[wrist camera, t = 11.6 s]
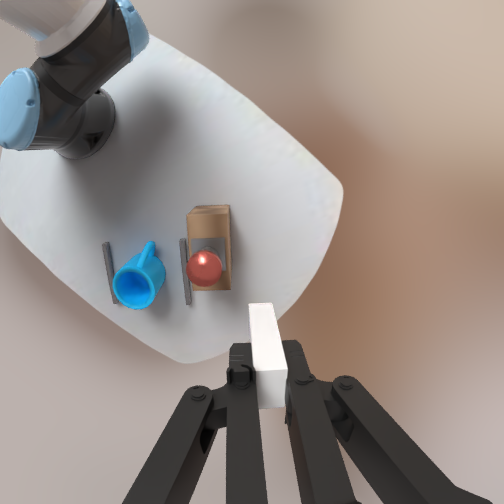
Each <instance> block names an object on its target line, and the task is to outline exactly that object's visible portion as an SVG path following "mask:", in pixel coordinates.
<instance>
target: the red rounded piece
mask: <svg viewBox="0 0 504 504" xmlns="http://www.w3.org/2000/svg"><path fill="white" fill-rule="evenodd" d="M186 273H187V276H188V278H189V279H190V281H191V282H192V283H194V284H195V285H197V286H201V287H209V286H212V285H214V284H215V283H216V282H217V281H218V280H219V279H220V277H221V273H222V263H221V260H220V258H219V257H218V253H217V251H216V250H215V249H214V248H212V247H203V248H202V249H201V250H200V251H197V252H195V253H194V254H193V255H192V256H191V257H190V259H189V261H188V263H187V266H186Z"/></svg>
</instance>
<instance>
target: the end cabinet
mask: <svg viewBox="0 0 504 504" xmlns="http://www.w3.org/2000/svg"><path fill="white" fill-rule="evenodd" d="M186 217H187V231H188V244H189V256H190V257H191V256H192V255H193V254H194V253H195V252H197V251H200V250H201V249H202V248H203V247H212V248H214V249H215V250H216V251H217V253H218V257H219V258H220V260H221V263H222V273H221V277H220V279H219V280H218V281H217V282H216V283H215V284H214V285H212V286H209V287H201V286H197V285H195V284H194V283H192V287H193V291H204V290H231V272H232V263H231V239H230V211H229V205H210V206H196V207H195V208H194V209H193V210H192V211H191V212H190V213H189V214H188V215H187V216H186Z"/></svg>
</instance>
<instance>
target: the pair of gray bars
mask: <svg viewBox="0 0 504 504" xmlns="http://www.w3.org/2000/svg"><path fill="white" fill-rule="evenodd" d="M179 242H180V253H181V263H182V273H183V282H184V290H185V298H186V305H190V304H191V294H190V285H189V278H188V276H187V273H186V266H187V255H186V244H185V239H180V241H179ZM102 247H103V253H104V259H105V265H106V270H107V275H108V280H109V285H110V290H111V295H112V299H113V303H114V304H117V303H118V302H119V300H118V299H117V297H116V295H115V293H114V290H113V279H114V272H113V267H112V261H111V255H110V248H109V242H105V243H103V244H102Z"/></svg>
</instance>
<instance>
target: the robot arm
mask: <svg viewBox="0 0 504 504" xmlns="http://www.w3.org/2000/svg"><path fill="white" fill-rule="evenodd" d="M0 19H2V20H4V21H5V22H7V23H9V24H10V25H12V26H14V27H15V28H17V29H19V30H20V31H22V32H24V33H25V34H27V35H28V36H30V37H32V38H33V39H35V40H36V42H35V53H36V55H37V56H38V57H39V58H38V59H37V60H36V61H35V62H34V64H33V65H32V66H31V67H30V68H20V69H17V70H16V71H13V72H12V73H10V74H9V75H8V76H7V78H6V79H5V80H4V81H3V83H2V84H1V86H0V146H2V147H3V148H6V149H15V150H17V151H22V150H43V149H53V150H54V151H56V152H57V153H59V154H60V155H62V156H64V157H66V158H71V159H81V158H85V157H88V156H90V155H92V154H94V153H95V152H97V151H98V150H99V149H100V148H101V147H102V146H103V145H104V143H105V142H106V141H107V139H108V137H109V135H110V133H111V131H112V128H113V125H114V120H115V108H114V103H113V101H112V99H111V97H110V95H109V94H108V93H107V92H106V91H105V90H103V89H101V88H100V87H101V86H102V85H103V84H105V83H106V82H107V81H108V80H109V79H110V78H111V77H112V76H114V75H115V74H116V73H117V72H118V71H119V70H121V69H122V68H123V67H124V66H125V65H127V64H128V63H130V62H131V61H132V60H133V58H134V57H135V56H137V55H138V54H139V53H140V52H141V51H142V50H144V49H145V48H146V46H147V44H148V43H149V33H148V30H147V28H146V26H145V24H144V22H143V20H142V18H141V16H140V15H139V13H138V12H137V10H135V9H134V7H133V5H132V3H131V2H130V0H0ZM249 337H250V343H233V345H232V346H231V348H230V354H229V355H230V356H229V368H228V369H227V383H226V384H225V385H224V386H223V387H221V388H218V389H215V390H210V389H209V388H208V387H205V386H193V387H190V388H189V389H187V390H186V391H185V393H184V395H183V396H182V398H181V400H180V402H179V404H178V405H177V407H176V409H175V411H174V413H173V415H172V416H171V418H170V420H169V421H168V423H167V425H166V427H165V429H164V430H163V432H162V434H161V436H160V437H159V439H158V441H157V443H156V445H155V446H154V448H153V450H152V452H151V453H150V456H149V457H148V459H147V461H146V462H145V464H144V466H143V468H142V469H141V471H140V473H139V475H138V476H137V478H136V480H135V482H134V483H133V485H132V487H131V489H130V490H129V492H128V494H127V496H126V498H125V499H124V501H123V503H122V504H189V502H190V499H191V497H192V494H193V492H194V490H195V487H196V485H197V482H198V480H199V477H200V475H201V472H202V470H203V467H204V465H205V462H206V460H207V457H208V454H209V452H210V449H211V447H212V444H213V441H214V439H215V436H216V434H217V431H218V429H219V428H223V427H227V436H226V437H227V438H226V439H227V440H226V504H268V500H267V490H266V481H265V471H264V461H263V451H262V440H261V430H260V420H259V409H268V408H282V407H285V404H286V416H285V424H287V425H288V431H289V436H290V442H291V447H292V453H293V458H294V464H295V469H296V475H297V481H298V486H299V492H300V497H301V503H302V504H362V503H360V502H357V500H356V499H355V496H354V493H353V490H352V487H351V483H350V480H349V477H348V474H347V471H346V468H345V464H344V461H343V458H342V455H341V452H340V449H339V445H338V442H337V439H338V440H339V442H340V443H341V445H342V446H343V448H344V449H345V450H346V452H347V453H348V455H349V456H350V458H351V459H352V461H353V462H354V463H355V465H356V466H357V468H358V469H359V471H360V472H361V473H362V475H363V476H364V478H365V479H366V480H367V482H368V483H369V484H370V486H371V487H372V488H373V490H374V491H375V493H376V494H377V495H378V497H379V498H380V499H381V501H382V502H383V503H384V504H492V502H490V501H489V500H487V499H484V498H482V497H480V496H477V495H474V494H472V493H470V492H468V491H465V490H463V489H461V488H458V487H456V486H455V485H454V484H453V483H452V482H451V481H450V480H449V479H448V478H447V477H446V476H445V474H444V473H443V472H442V471H441V470H440V469H439V468H438V467H437V466H436V465H435V464H434V463H433V462H432V461H431V459H430V458H428V456H427V455H426V454H425V453H424V452H423V451H422V450H421V449H420V448H419V447H418V445H417V444H416V443H415V442H414V441H413V440H412V439H411V438H410V437H409V436H408V435H407V434H406V432H405V431H404V430H403V429H402V428H401V427H400V426H399V425H398V424H397V423H396V422H395V421H394V419H393V418H392V417H391V416H390V415H389V414H388V413H387V412H386V411H385V410H384V409H383V407H382V406H381V405H379V403H378V402H377V401H376V400H375V399H374V398H373V397H372V395H371V394H369V392H368V391H367V390H366V389H365V388H364V387H363V386H362V385H361V383H360V382H359V381H358V380H357V379H355V378H354V377H351V376H345V375H344V376H339V377H337V378H335V380H334V381H333V382H324V381H320V380H318V379H316V378H315V376H314V375H313V374H311V373H310V370H309V367H308V364H307V361H306V358H305V355H304V352H303V349H302V346H301V344H300V343H299V342H298V341H296V340H285V341H281V338H280V334H279V330H278V326H277V322H276V317H275V313H274V309H273V305H272V303H252V304H249ZM336 438H337V439H336Z"/></svg>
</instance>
